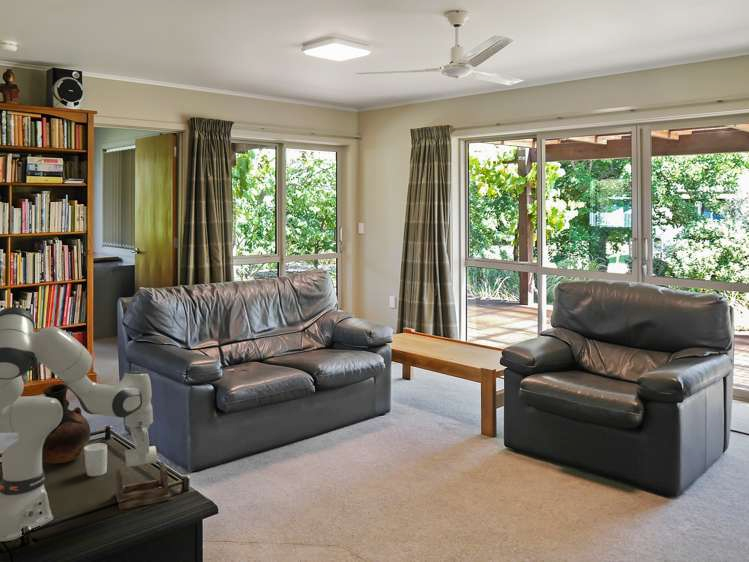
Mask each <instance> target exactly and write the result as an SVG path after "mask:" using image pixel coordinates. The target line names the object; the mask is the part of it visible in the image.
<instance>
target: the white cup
mask: <svg viewBox="0 0 749 562" xmlns="http://www.w3.org/2000/svg"><path fill="white" fill-rule="evenodd" d="M83 455H84V463H85V469H86V475H87V476H89V477H100V476H104V475H105V474H106V473H107V472H108V466H107V465H108V445H107V444H106V443H103V442H97V443H96V442H95V443H90V444H87V446H85V447H84V451H83Z"/></svg>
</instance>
